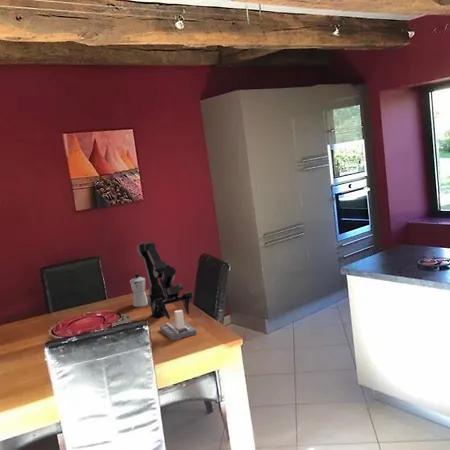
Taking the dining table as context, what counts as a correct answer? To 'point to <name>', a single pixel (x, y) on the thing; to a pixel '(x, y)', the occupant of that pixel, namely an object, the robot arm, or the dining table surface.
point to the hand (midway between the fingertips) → (179, 316)
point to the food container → (122, 320)
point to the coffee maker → (138, 291)
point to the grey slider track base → (174, 334)
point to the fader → (179, 320)
